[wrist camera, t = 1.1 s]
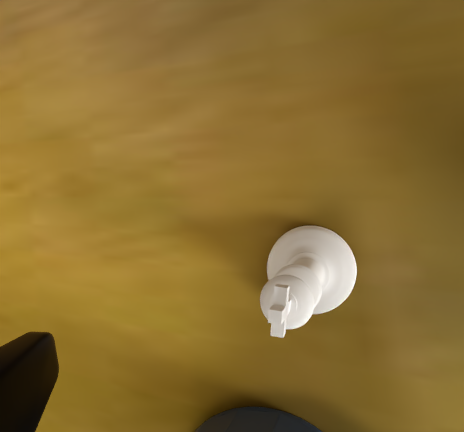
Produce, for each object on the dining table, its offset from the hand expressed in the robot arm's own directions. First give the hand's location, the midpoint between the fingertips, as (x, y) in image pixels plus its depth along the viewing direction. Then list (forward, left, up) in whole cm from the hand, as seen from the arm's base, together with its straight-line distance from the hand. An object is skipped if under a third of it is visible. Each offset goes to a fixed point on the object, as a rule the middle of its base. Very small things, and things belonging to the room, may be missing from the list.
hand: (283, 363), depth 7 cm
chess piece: (0, +1, -15) cm, 15 cm away
